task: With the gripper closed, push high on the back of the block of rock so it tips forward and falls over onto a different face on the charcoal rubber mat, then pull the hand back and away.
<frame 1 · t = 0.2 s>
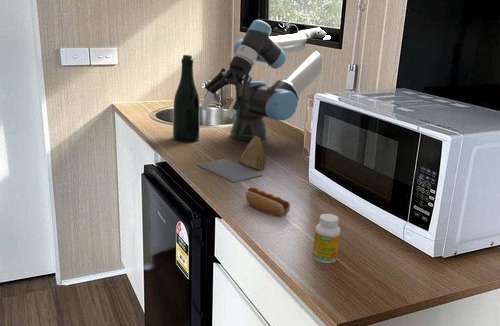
hand: (215, 113, 171), 16 cm above the worktop, tool tilted 35°, fingers open, 13 cm apart
supplement bottle: (324, 258, 108), on the worktop
rock: (252, 166, 167), on the worktop
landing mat: (229, 170, 161), on the worktop
food: (266, 211, 131), on the worktop
dark green wine bottle: (186, 139, 194), on the worktop
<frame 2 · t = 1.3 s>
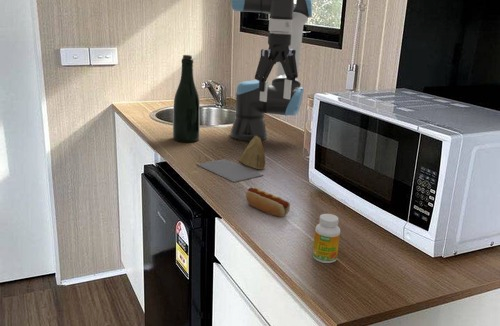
hand: (275, 99, 166), 22 cm above the worktop, tool pointing down, fingers open, 10 cm apart
nothing on the worktop moved.
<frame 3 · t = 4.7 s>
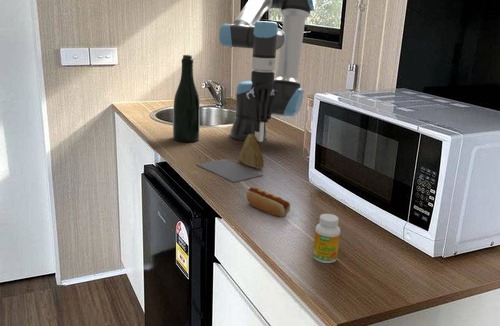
hand: (258, 140, 166), 9 cm above the worktop, tool pointing down, fingers closed
rock: (252, 164, 167), on the worktop, touching gripper
everything else where it was.
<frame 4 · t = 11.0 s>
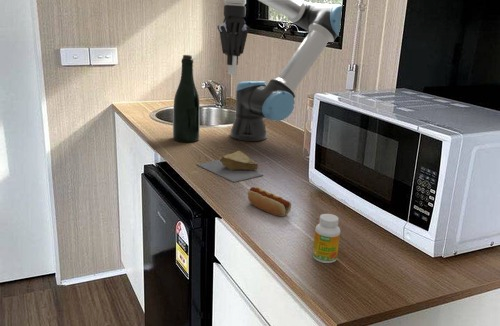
hand: (232, 74, 174), 28 cm above the worktop, tool pointing down, fingers closed
rock: (248, 160, 165), point 2 cm above the worktop, touching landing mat
everything else where it was.
at the end: rock tilted 100°; rock inside the target area (4.0 cm from its centre), point 2.1 cm above the worktop; rock touching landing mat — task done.
